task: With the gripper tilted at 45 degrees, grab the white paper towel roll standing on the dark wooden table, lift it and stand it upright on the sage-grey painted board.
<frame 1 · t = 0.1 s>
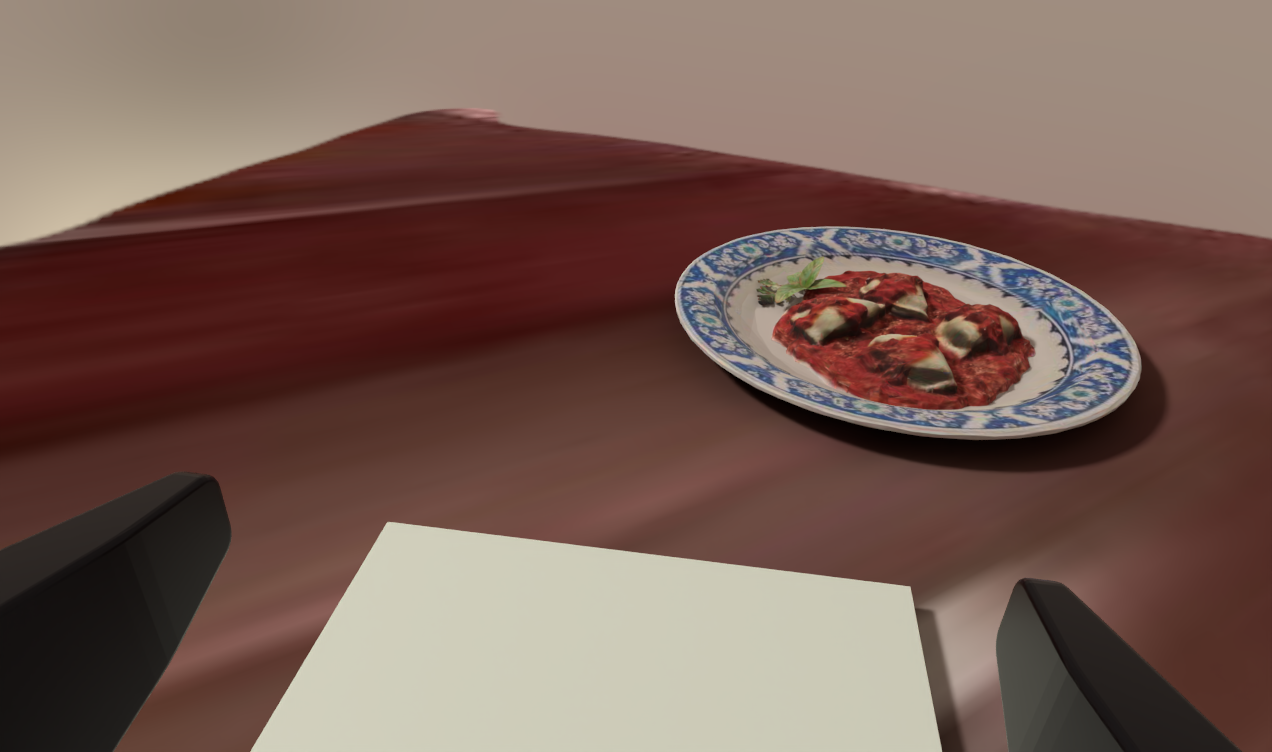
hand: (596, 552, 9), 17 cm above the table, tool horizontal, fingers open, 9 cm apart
ceramic plate: (887, 342, 50), on the table
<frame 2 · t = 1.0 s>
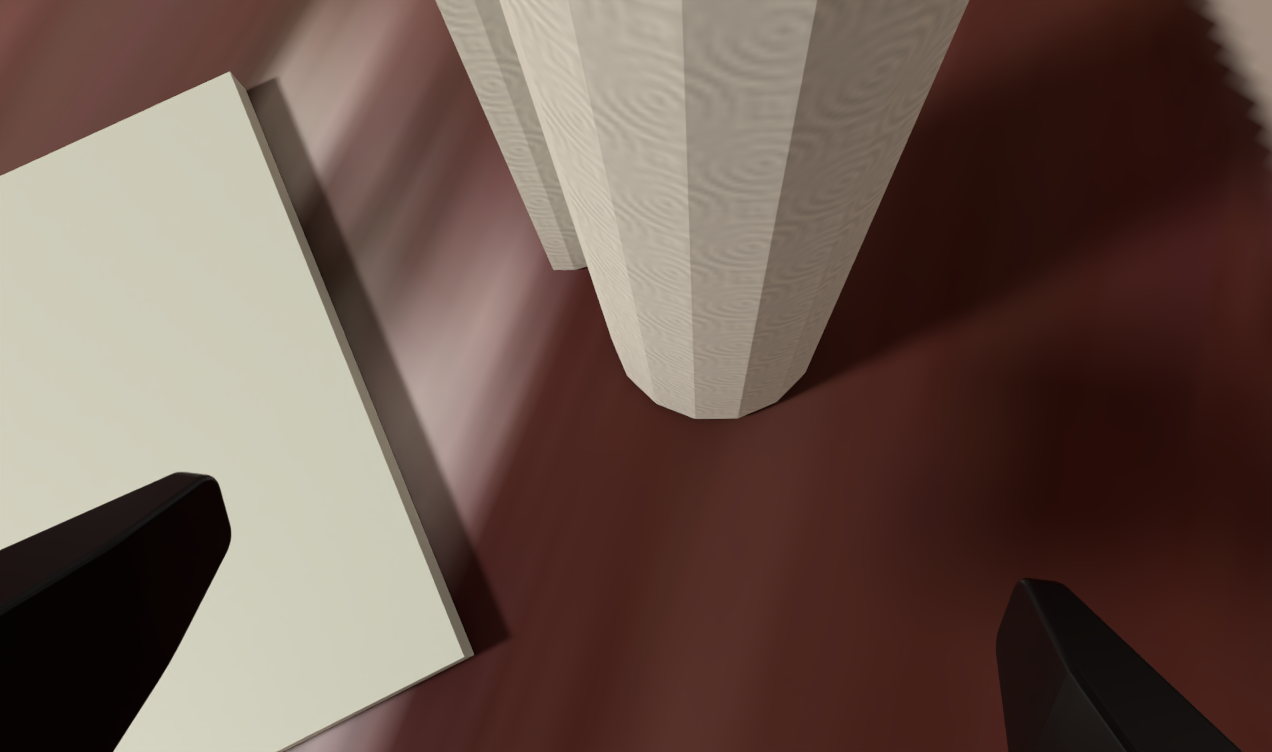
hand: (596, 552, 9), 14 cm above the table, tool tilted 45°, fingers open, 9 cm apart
paper towel roll: (702, 310, 25), on the table
sage board: (39, 489, 25), on the table
when the fingers open (12 cm above the table, at t = 7.1 s): paper towel roll drops 1 cm, resting on sage board.
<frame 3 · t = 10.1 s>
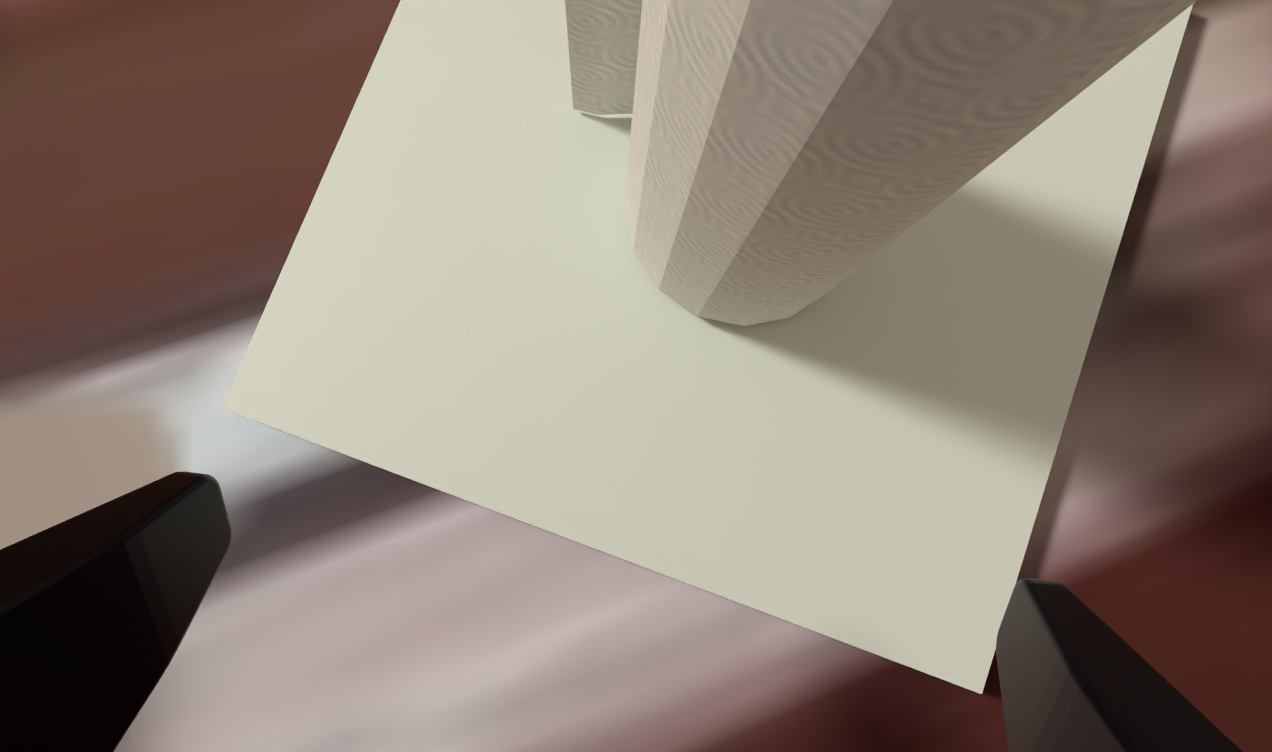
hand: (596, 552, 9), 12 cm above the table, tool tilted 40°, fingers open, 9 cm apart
paper towel roll: (730, 196, 22), point 1 cm above the table, touching sage board
sage board: (731, 197, 23), on the table
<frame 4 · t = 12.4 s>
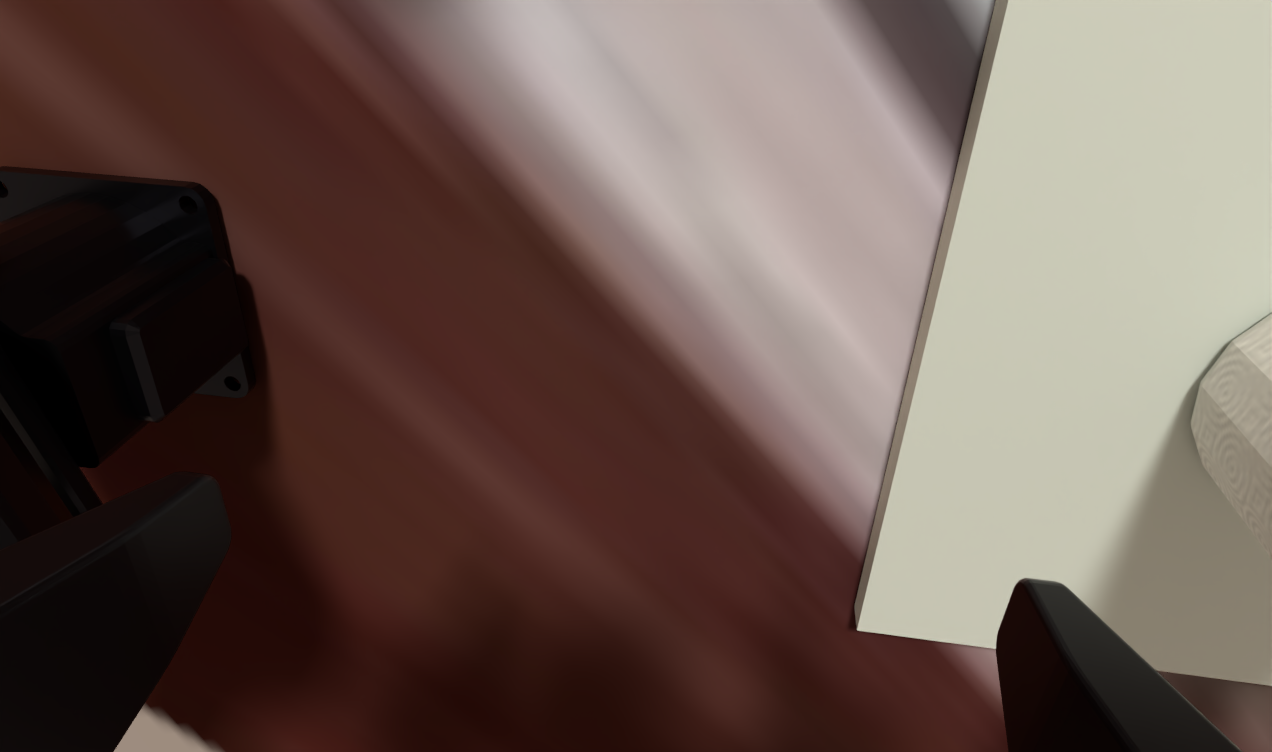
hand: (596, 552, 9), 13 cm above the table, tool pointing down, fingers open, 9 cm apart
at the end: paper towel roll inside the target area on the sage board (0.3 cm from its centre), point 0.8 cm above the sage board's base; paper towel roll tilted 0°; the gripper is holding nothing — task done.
